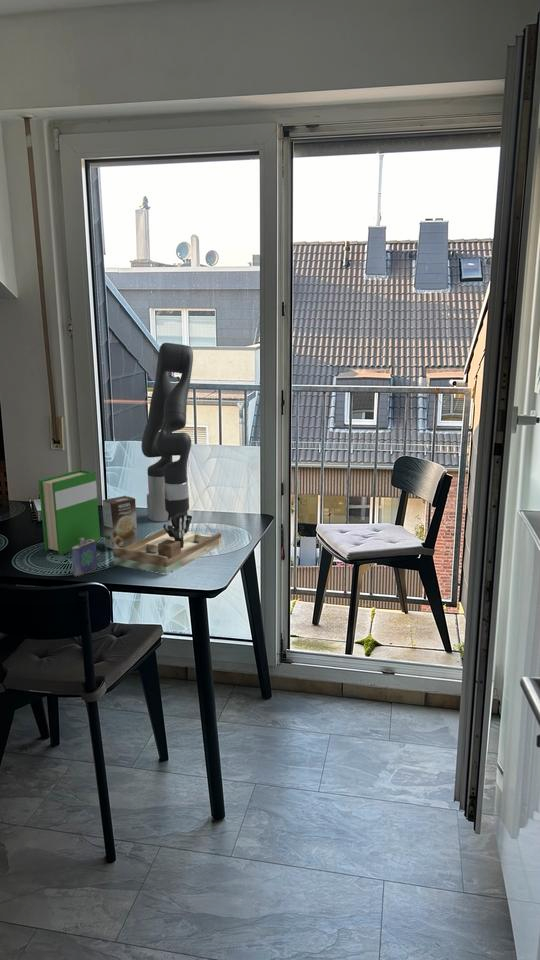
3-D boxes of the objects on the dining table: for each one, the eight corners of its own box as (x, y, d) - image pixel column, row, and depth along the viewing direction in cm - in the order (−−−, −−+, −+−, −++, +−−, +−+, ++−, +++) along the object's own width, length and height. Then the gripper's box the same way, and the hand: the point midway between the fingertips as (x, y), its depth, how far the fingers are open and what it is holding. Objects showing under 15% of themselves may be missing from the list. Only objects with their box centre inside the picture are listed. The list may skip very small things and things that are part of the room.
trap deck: (114, 564, 214) (113, 547, 213) (172, 536, 241) (172, 521, 240) (166, 575, 205) (165, 557, 204) (221, 544, 232) (220, 528, 231)
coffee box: (114, 550, 227) (111, 503, 223) (104, 546, 231) (101, 500, 227) (138, 544, 233) (135, 498, 229) (127, 539, 238) (125, 494, 234)
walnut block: (158, 556, 214) (157, 543, 213) (168, 551, 218) (167, 539, 217) (171, 558, 212) (170, 546, 211) (180, 553, 216) (180, 541, 215)
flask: (78, 577, 204) (75, 543, 202) (70, 575, 206) (67, 541, 203) (99, 567, 212) (97, 534, 210) (92, 566, 214) (89, 533, 211)
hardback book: (60, 554, 224) (54, 483, 218) (45, 550, 228) (38, 480, 222) (100, 539, 238) (95, 472, 233) (85, 535, 242) (80, 469, 236)
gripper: (178, 489, 222) (181, 540, 226) (154, 499, 211) (157, 553, 215) (198, 491, 219) (200, 543, 223) (174, 502, 207) (177, 556, 212)
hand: (179, 548), depth 219 cm, fingers closed
